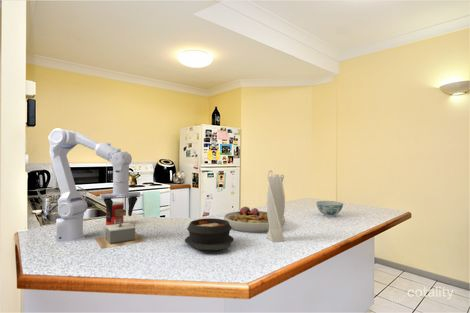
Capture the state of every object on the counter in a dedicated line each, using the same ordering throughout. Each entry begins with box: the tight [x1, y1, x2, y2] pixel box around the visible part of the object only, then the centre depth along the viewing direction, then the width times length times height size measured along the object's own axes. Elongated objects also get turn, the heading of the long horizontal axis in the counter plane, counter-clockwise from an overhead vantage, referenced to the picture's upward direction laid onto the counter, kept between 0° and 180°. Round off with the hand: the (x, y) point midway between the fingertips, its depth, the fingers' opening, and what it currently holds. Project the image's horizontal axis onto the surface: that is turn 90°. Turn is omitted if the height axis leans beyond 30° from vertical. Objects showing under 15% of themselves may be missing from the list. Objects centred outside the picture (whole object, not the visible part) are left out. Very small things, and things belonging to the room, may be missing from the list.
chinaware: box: [315, 200, 344, 218], centre depth 158 cm, size 15×15×8 cm
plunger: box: [115, 209, 127, 227], centre depth 105 cm, size 7×7×8 cm
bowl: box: [223, 206, 286, 234], centre depth 132 cm, size 30×30×8 cm
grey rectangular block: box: [104, 222, 136, 244], centre depth 106 cm, size 10×9×5 cm
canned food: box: [105, 201, 125, 226], centre depth 131 cm, size 8×8×11 cm
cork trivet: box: [94, 231, 147, 250], centre depth 105 cm, size 16×16×1 cm
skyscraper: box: [266, 170, 286, 243], centre depth 109 cm, size 8×8×28 cm
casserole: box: [184, 217, 234, 251], centre depth 102 cm, size 25×19×8 cm
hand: (120, 216), depth 105 cm, fingers open, 6 cm apart
